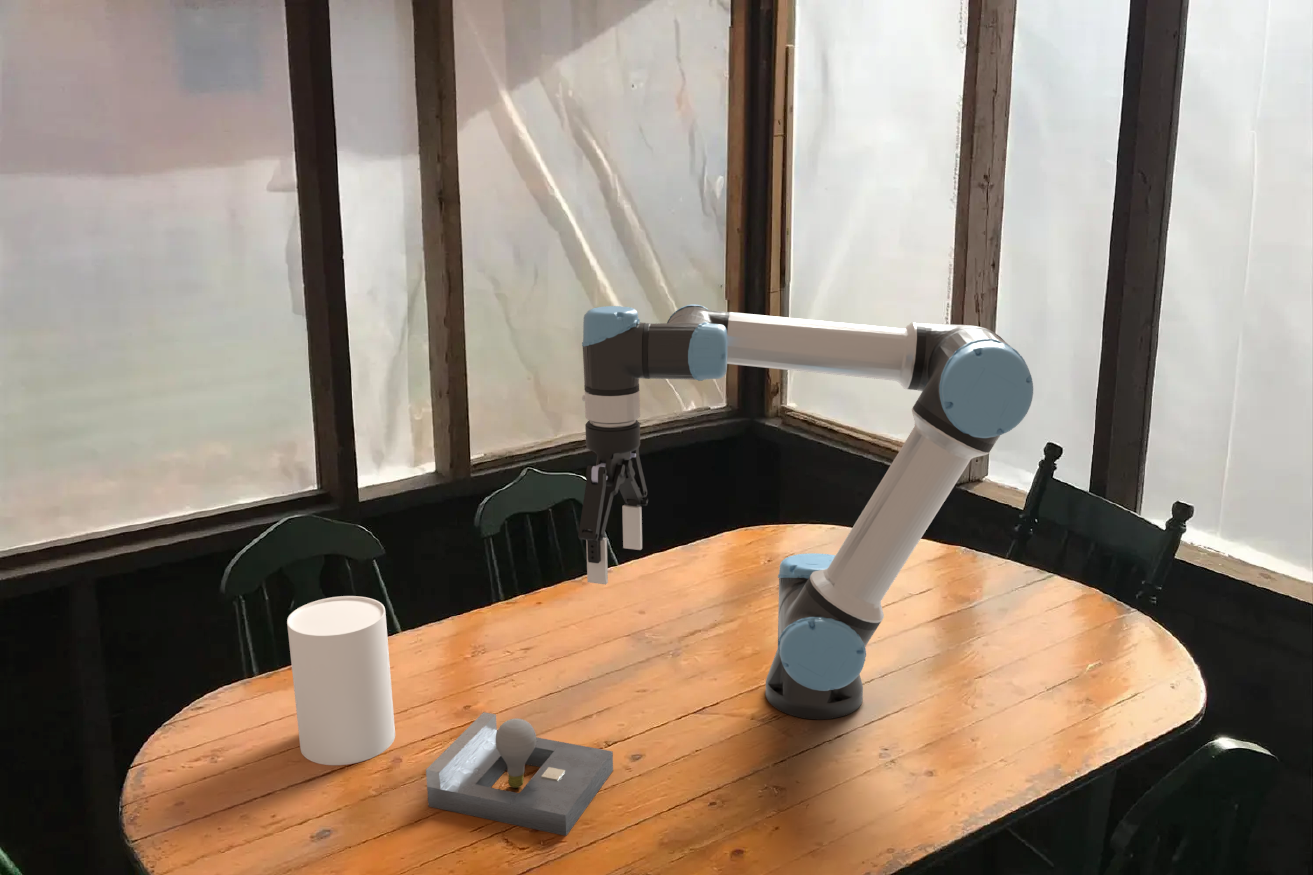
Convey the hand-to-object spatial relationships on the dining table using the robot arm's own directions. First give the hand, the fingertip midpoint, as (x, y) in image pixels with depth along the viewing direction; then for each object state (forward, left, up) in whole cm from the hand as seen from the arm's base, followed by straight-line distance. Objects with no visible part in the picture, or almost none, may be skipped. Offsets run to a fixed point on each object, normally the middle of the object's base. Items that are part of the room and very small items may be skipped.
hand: (615, 564), depth 162 cm
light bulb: (+8, +18, -27) cm, 33 cm away
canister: (+37, +15, -27) cm, 48 cm away
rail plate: (+7, +18, -27) cm, 33 cm away
